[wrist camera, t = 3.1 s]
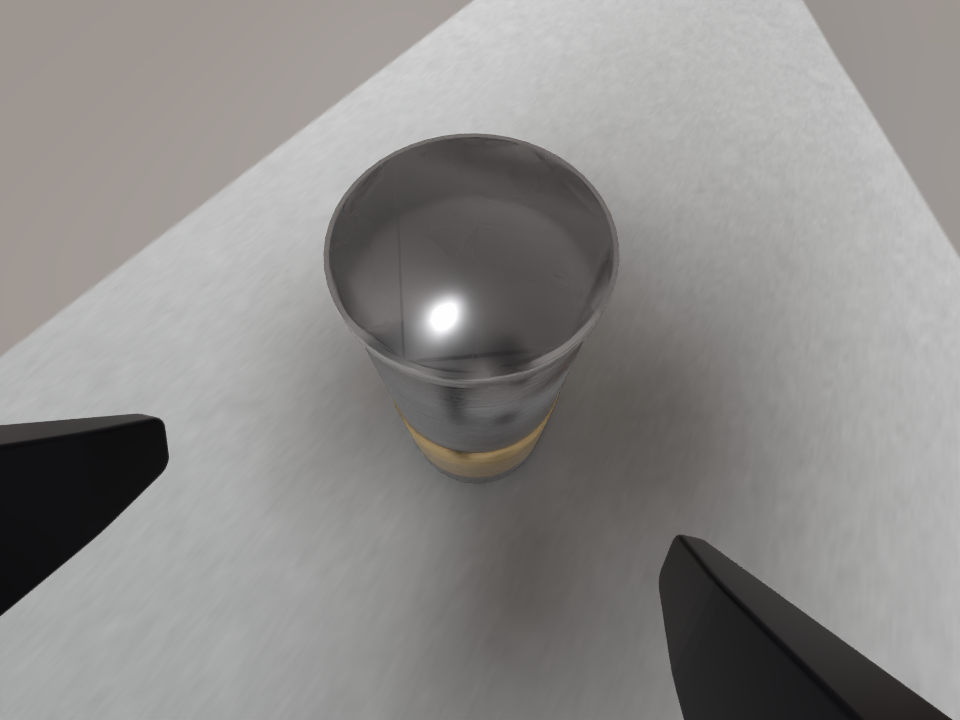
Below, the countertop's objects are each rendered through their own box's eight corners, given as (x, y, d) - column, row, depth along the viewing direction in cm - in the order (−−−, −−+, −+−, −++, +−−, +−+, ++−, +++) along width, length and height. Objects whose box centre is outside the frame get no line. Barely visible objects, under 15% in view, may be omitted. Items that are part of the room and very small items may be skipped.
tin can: (486, 514, 20) (494, 445, 8) (385, 428, 21) (261, 258, 9) (566, 411, 21) (674, 224, 9) (468, 338, 23) (454, 96, 11)
